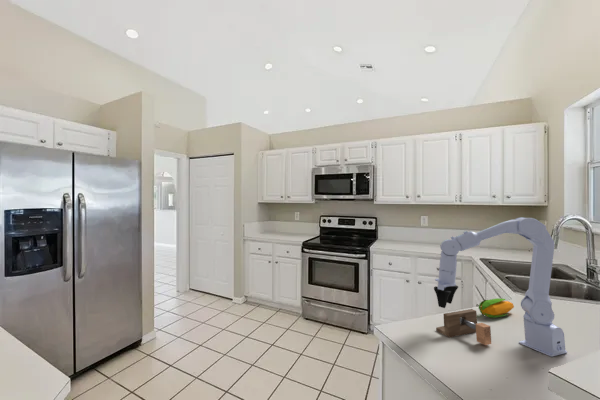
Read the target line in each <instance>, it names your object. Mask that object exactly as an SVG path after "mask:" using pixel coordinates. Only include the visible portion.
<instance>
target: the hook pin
mask: <svg viewBox="0 0 600 400" xmlns="http://www.w3.org/2000/svg"><path fill="white" fill-rule="evenodd" d="M460 323H462V324H464V325H467V326H469V327H471V328H473V329H475V330H476V332H475V334H476V335H475V336H476V342H477V343H479V344H481V345H484V346H488V345H492V332H491V330H492V329H491V325H489V324H486V323H484V322H479V323H478V322H477V324H474V323H472V322H470V321H467V320H465V319H463V318H460Z"/></svg>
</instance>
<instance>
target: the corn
mask: <svg viewBox="0 0 600 400" xmlns="http://www.w3.org/2000/svg"><path fill="white" fill-rule="evenodd" d="M514 308H515V306H514V303H512V302H510V300H508V301H507V300H506V298H498V297H497V298H492V299H485V300H482V301H480V303H479V305H478V310H479V312H480V314H481V315H482V316H484V315H485V316H484V317H486V318H488V317H489V319H494V318H501V317H504V316H508V315H509V312H510V311H512V310H513V309H514Z"/></svg>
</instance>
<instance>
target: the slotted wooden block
mask: <svg viewBox="0 0 600 400" xmlns="http://www.w3.org/2000/svg"><path fill="white" fill-rule="evenodd" d="M477 313H478V312H477V310H475V309H472V308H471V309H465V310H464V309H463V310H457V311H452V312H446V313H443V326H438V327H437V326H436V329H435V330H436V331H437V332H438V333H440V334H442V335H444V336H446V337H447V338H449V339H450V338H454V337H459V336H464V334H465V335H469V333H470V334H473V333H476V330H475V329H473V328H471V327H469V326H467V325H464V324H462V323H460V318H463V319H465V320H467V321H470V322H472V323H474V324H477V323H478V315H477Z"/></svg>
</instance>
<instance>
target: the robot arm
mask: <svg viewBox="0 0 600 400" xmlns="http://www.w3.org/2000/svg"><path fill="white" fill-rule="evenodd" d="M502 234H511V235H512V234H515V235H519V236H521V237H523V238H525V239H526V240H527V241H528V242H529V243H530V244H531V245H532V246H533V247H532V254H531V255H532V256H531V263H530V264H531V265H530V272H529V273H530V274H529V279H528V281H529V282H528V289H527V290H525V293H524V297H523V298H522V299H521V301H520V307H521V309H522V310H523V311H524V314H523V317H522V318H523V326H524V327H523V329H524V331H523V332H524V339H523V340H520V341H518V343H519V344H520V345H523V346H525V347H527V348H530V349H532V350H535V351H537V352H538V353H541V354H544V355H547V357H556V356H560V355H564V354H567V353H568V351H567V350H566V343H565V342H566V341H565V332H564V330H563V328H561V327H559V326H557V325H555V324H554V323H553V321H554V319H555V312H554V311H553V308H552V306H553V305H552V304H553V302H552V300H551V297H550V286H551V277H552V270H553V263H554V261H553V259H554V253H555V252H554V251H555V240H554V239H553V238H552V237H553V236H551V234H550V233H549V231H548V229H547V226H546V225H545V224H544V223H543V222H541V221H539V220H538V219H536V218H534V217H516V218H514V219H509V220H506V221H505V220H504V221H502V222H499V223H497V224H495V225H492V226H490V227H488V228H485V229H482V230H479V231H477V232H475V231H473V230H469V231H468V230H465V231H463V232H462V234H459V235H456V236H453V235H452V236H450V238H449V239H444V240H442V242H441V243H440V250H441V251H440V257H439V266H438V267H439V269H438V278H435V279H434V280H435V282H437V286H434V287H433V290H434V293H435V294H436V295H435V296H436V299H437V304H438V307H439V308H442V309H445V308H446V307H447V303H448V304H452V302H453V299H454V295H455V294H456V292H457V290H458V289H459V286H458V285H457V283H456V280H457V279H456V278H457V263H458V260H457V256H458V253H459V252H463V251H464V252H465V251H466V250H469V249H472V248H475V247H477V246H479V245H480V244H481V242H482V241H484V240H487V239H488V240H489V239H490V238H493V237H494V238H495V237H497V236H499V235H502Z"/></svg>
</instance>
